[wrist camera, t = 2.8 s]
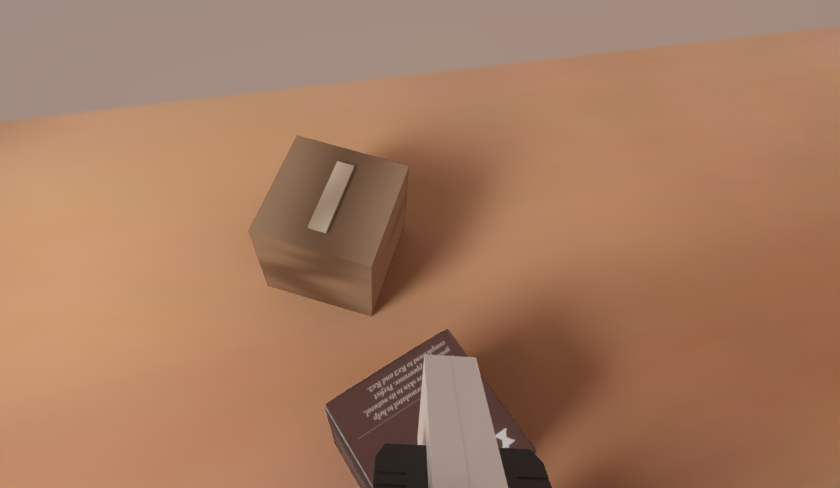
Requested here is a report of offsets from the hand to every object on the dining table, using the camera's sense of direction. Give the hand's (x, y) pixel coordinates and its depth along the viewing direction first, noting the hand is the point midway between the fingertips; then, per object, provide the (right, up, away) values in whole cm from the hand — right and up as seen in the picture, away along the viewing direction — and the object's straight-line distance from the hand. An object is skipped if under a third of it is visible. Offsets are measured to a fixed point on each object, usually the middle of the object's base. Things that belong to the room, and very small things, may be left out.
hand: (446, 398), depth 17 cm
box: (-1, -6, +12) cm, 13 cm away
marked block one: (-5, +4, +17) cm, 18 cm away
